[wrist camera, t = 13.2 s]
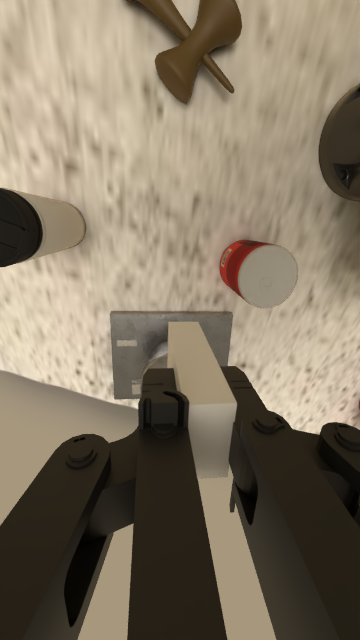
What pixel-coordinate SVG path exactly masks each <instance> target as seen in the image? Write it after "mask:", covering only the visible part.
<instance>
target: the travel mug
mask: <svg viewBox="0 0 360 640" xmlns="http://www.w3.org/2000/svg"><path fill="white" fill-rule="evenodd" d="M85 231H86V225H85V220H84V218H83V216H82V214H81V213H80V212H79V210H78V209H77V208H75V207H74V206H73V205H71V204H69V203H65V202H61V201H57V200H53V199H49V198H44V197H40V196H36V195H32V194H28V193H23V192H19V191H15V190H11V189H6V188H0V267H6V266H9V265H13V264H16V263H21V262H24V261H28V260H31V259H34V258H38V257H41V256H44V255H47V254H51V253H54V252H57V251H61V250H64V249H67V248H70V247H73V246H76V245H77V244H79V243H80V242H81V241H82V239H83V238H84V235H85Z"/></svg>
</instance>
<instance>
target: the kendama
mask: <svg viewBox="0 0 360 640" xmlns="http://www.w3.org/2000/svg"><path fill="white" fill-rule="evenodd" d="M127 1H132V0H127ZM136 1H138V2H140V3H141V4H143V5H144V6H145V7H146V8H148V9H149V10H150V11H151V12H152V13H153V14H155V15H156V16H157V17H158V18H159V19H160V20H161V21H162V22H164V23H165V24H166V25H167V26H168V27H169V28H170V29H171V30H172V31H173V32H174V33H175V34H176V35H177V36H178V37H179V38H180V39H181V40H182V41H183V42H182V43H181V44H180V45H178V46H177V47H174V48H172V49H169V50H166V51H164V52H161V53H159V54H158V55H157V56H156V59H155V65H156V69H157V72H158V74H159V76H160V78H161V80H162V81H163V83H164V84H165V86H166V87H167V88H168V89H169V91H170V92H171V93H172V94H173V95H174V96H175V97H176V98H178V99H179V100H181V101H183V102H187V101H188V100H189V99H190V97H191V95H192V90H193V85H194V80H195V76H196V72H197V70H198V67H199V65H200V64H201V62H202V63H203V64H204V65H205V66H206V67H207V68H208V69H209V70H210V72H211V73H212V74H213V75H214V76H215V77H216V78H217V79H218V81H219V82H220V83H221V84H222V85H223V86H224V87H225V88H226V89H227V90H228V91H229V92H230V93H234V88H233V86H232V85H231V83H230V82H229V80H228V79H227V78H226V76H225V75H224V74H223V72H222V71H221V70H220V68H219V67H218V66H217V64H216V63H215V62H214V60H213V59H212V58H211V56H210V55H209V54H208V53H209V52H210V51H211V50H213V49H214V48H216V47H219V46H223V45H227V44H231V43H234V42H235V41H236V40H237V39H238V37H239V36H240V34H241V29H242V22H241V14H240V11H239V9H238V6H237V3H236V1H235V0H200V4H199V12H198V17H197V21H196V24H195V26H194V28H193V29H192V31H191V29H190V28H189V26H188V25H187V23H186V22H185V21H184V19H183V18H182V16H181V15H180V13H179V11H178V10H177V8H176V7H175V5H174V4H173V2H172V0H136Z"/></svg>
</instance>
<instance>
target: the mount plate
mask: <svg viewBox="0 0 360 640" xmlns="http://www.w3.org/2000/svg"><path fill="white" fill-rule="evenodd" d="M232 318H233V314H232V313H231V312H129V311H111V314H110V321H111V341H112V361H113V380H114V399H140V398H141V394H135V395H133V393H132V380H141V375H142V371H143V368H144V366H145V364H146V363H147V362H148V360H149V359H150V358H151V357H152V356H154V355H155V354H157V353H159V352H161V351H163V350H167V349H168V322H199V325H200V327H201V329H202V331H203V333H204V335H205V337H206V339H207V341H208V343H209V345H210V348H211V350H212V352H213V354H214V356H215V358H216V360H217V362H218V364H219V366H227V364H228V354H229V345H230V336H231V327H232Z"/></svg>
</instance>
